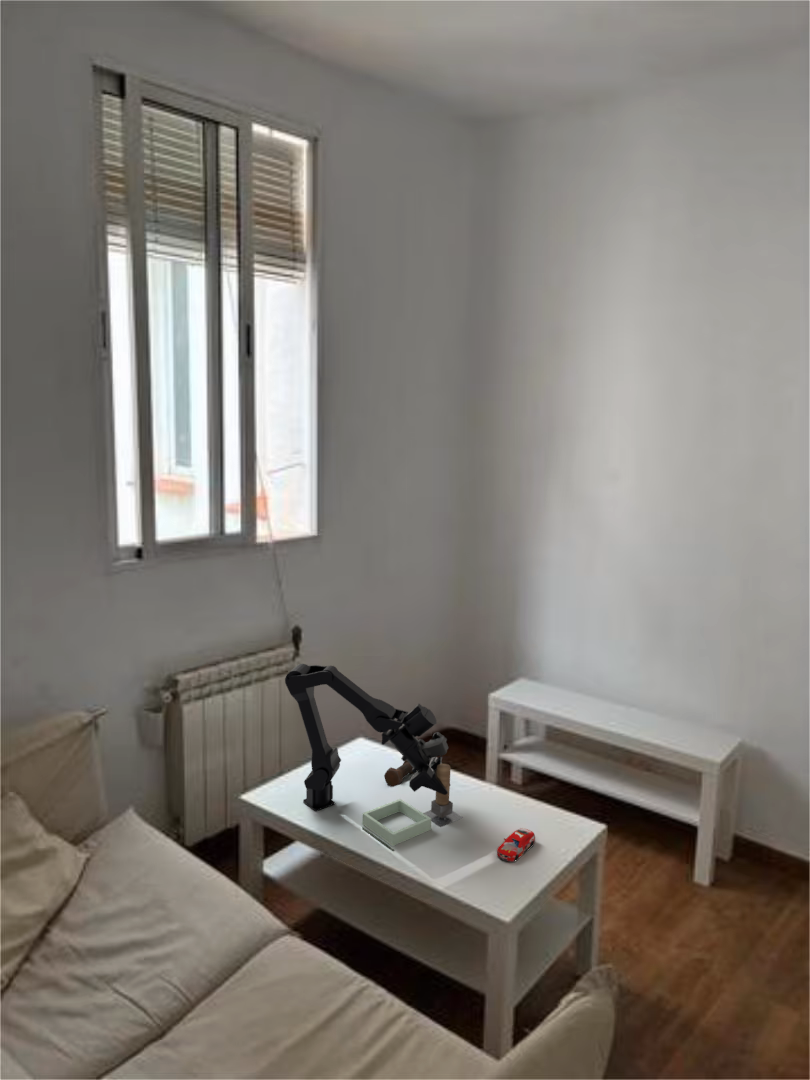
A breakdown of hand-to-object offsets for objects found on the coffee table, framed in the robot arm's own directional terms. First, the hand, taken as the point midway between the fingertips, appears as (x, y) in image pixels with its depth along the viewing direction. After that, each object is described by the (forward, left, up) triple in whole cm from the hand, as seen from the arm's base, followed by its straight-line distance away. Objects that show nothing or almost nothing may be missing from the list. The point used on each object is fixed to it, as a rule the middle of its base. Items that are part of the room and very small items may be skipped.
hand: (447, 790), depth 209 cm
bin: (-14, +4, -9) cm, 17 cm away
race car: (+5, -20, -10) cm, 23 cm away
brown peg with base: (-1, +1, -7) cm, 7 cm away
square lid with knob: (-1, +1, -9) cm, 9 cm away
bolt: (+7, +26, -9) cm, 29 cm away
